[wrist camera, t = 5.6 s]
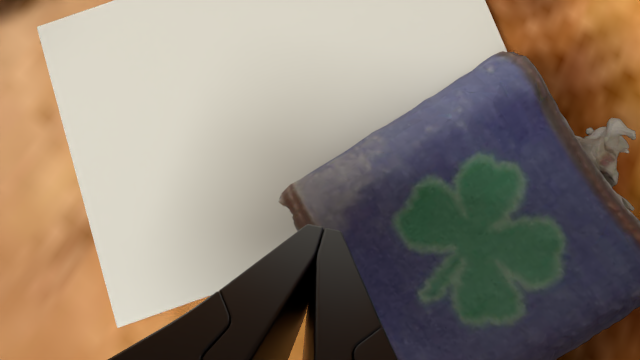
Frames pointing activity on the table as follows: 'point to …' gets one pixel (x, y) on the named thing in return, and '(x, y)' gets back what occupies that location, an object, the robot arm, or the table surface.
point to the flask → (484, 221)
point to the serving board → (232, 119)
